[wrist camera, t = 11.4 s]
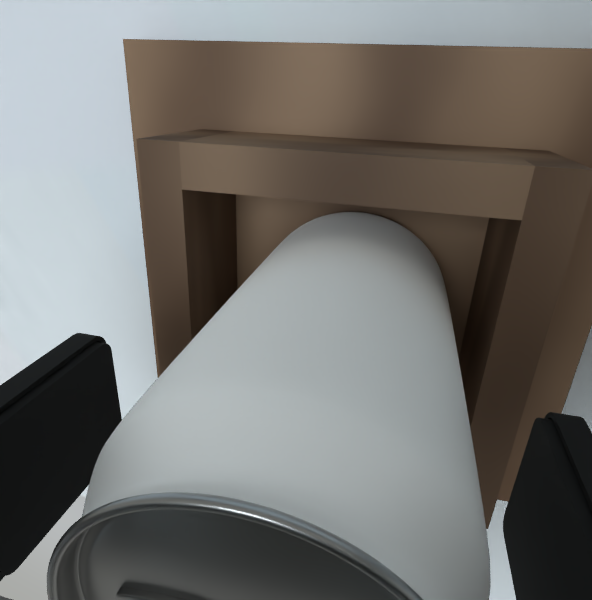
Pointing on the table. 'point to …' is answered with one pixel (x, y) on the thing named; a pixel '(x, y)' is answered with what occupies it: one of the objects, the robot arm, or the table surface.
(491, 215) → the holder
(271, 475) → the can
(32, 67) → the table surface
